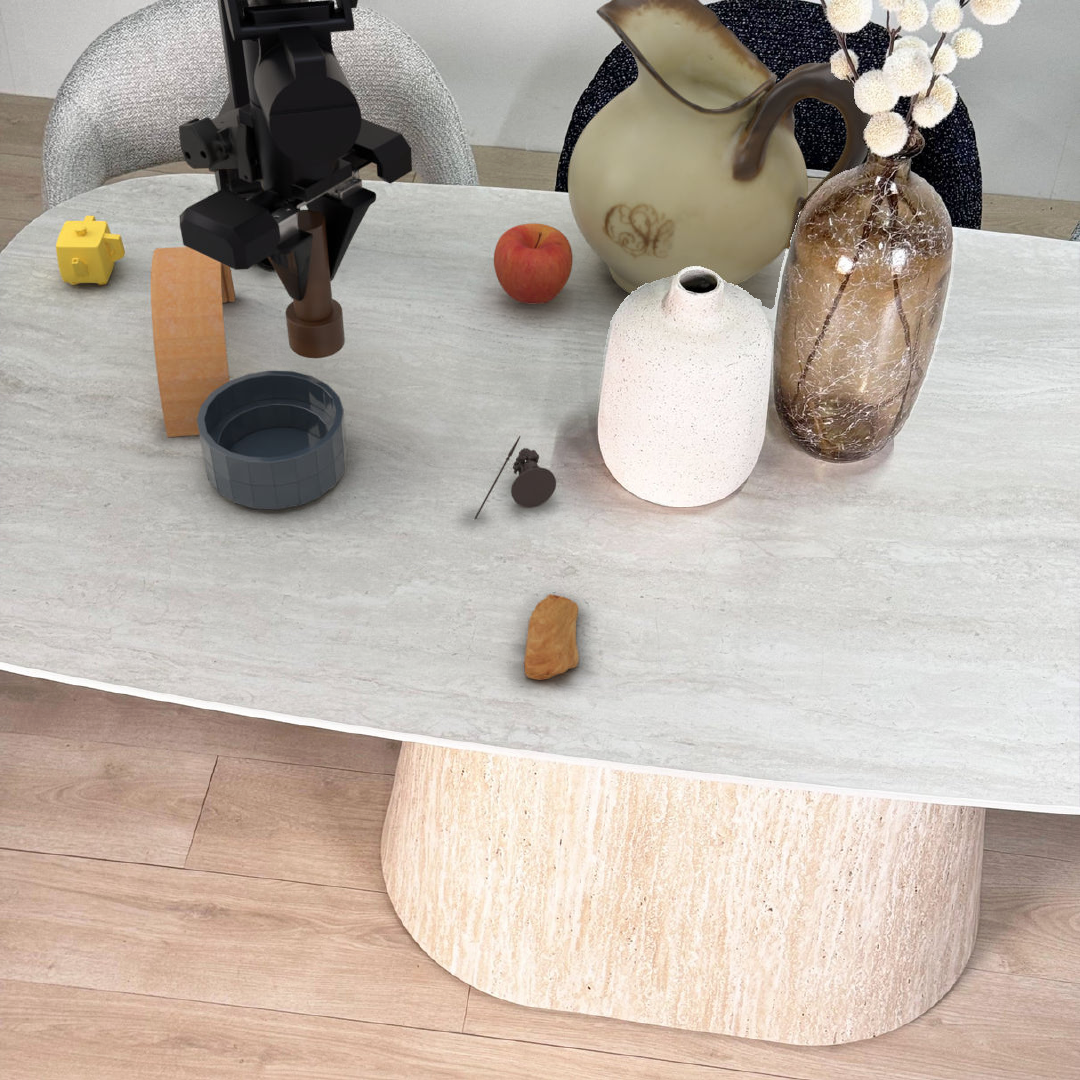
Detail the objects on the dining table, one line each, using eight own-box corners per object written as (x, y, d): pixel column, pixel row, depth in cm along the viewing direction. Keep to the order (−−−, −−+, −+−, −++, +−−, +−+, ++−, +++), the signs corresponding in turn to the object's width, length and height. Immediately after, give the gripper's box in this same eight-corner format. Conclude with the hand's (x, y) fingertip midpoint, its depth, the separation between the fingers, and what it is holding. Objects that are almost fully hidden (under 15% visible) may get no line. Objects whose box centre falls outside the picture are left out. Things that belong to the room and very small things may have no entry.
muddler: (315, 319, 103) (302, 198, 96) (356, 339, 102) (346, 217, 94) (277, 345, 101) (261, 222, 93) (318, 365, 99) (306, 242, 91)
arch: (237, 295, 119) (223, 200, 112) (236, 432, 106) (220, 334, 98) (174, 299, 119) (155, 203, 111) (164, 437, 105) (143, 338, 98)
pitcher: (542, 216, 131) (558, -29, 113) (759, 206, 135) (808, -32, 117) (584, 348, 116) (611, 90, 98) (828, 333, 120) (896, 82, 102)
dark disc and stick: (519, 435, 96) (502, 407, 99) (473, 518, 99) (458, 489, 102) (577, 451, 99) (559, 423, 102) (531, 531, 102) (515, 502, 105)
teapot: (120, 299, 118) (109, 251, 114) (57, 299, 118) (44, 251, 114) (135, 252, 124) (125, 205, 120) (75, 252, 123) (63, 205, 120)
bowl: (276, 405, 108) (269, 353, 104) (375, 459, 104) (372, 407, 100) (178, 474, 102) (166, 421, 98) (279, 535, 97) (271, 482, 93)
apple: (549, 270, 124) (553, 197, 119) (582, 310, 120) (588, 236, 114) (480, 285, 122) (481, 212, 116) (512, 327, 117) (515, 252, 112)
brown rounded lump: (495, 666, 89) (556, 701, 88) (498, 649, 88) (560, 684, 87) (547, 594, 94) (605, 626, 93) (550, 576, 92) (611, 609, 91)
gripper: (298, 21, 95) (316, 207, 106) (105, 108, 84) (146, 305, 95) (413, 62, 91) (419, 251, 102) (225, 160, 80) (254, 360, 91)
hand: (311, 289), depth 98 cm, fingers closed on muddler, 3 cm apart
